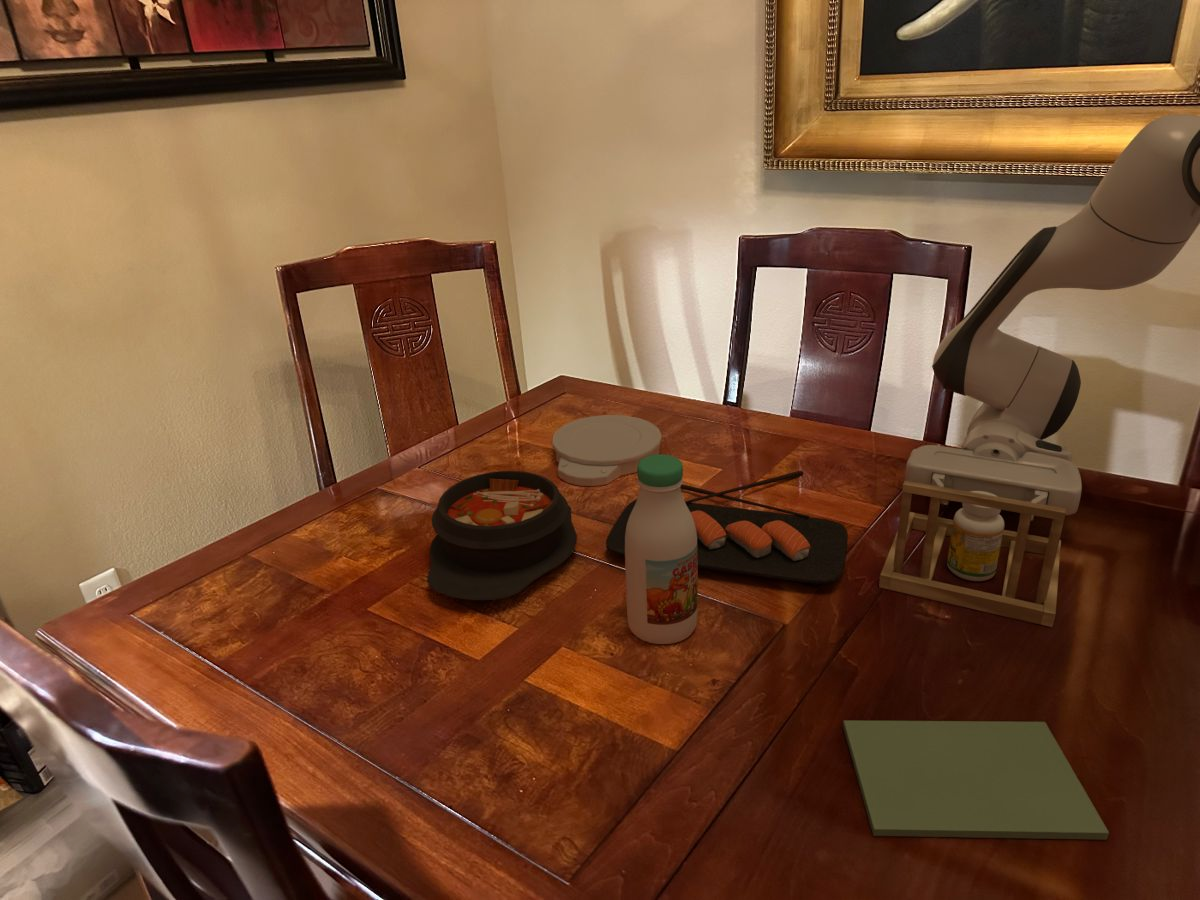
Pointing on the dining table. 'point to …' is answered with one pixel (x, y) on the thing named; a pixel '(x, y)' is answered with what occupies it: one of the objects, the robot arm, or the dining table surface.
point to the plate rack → (1016, 541)
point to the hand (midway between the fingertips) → (983, 506)
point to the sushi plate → (758, 539)
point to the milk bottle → (661, 555)
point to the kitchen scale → (603, 448)
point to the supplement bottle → (975, 541)
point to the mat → (969, 781)
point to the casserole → (498, 535)
